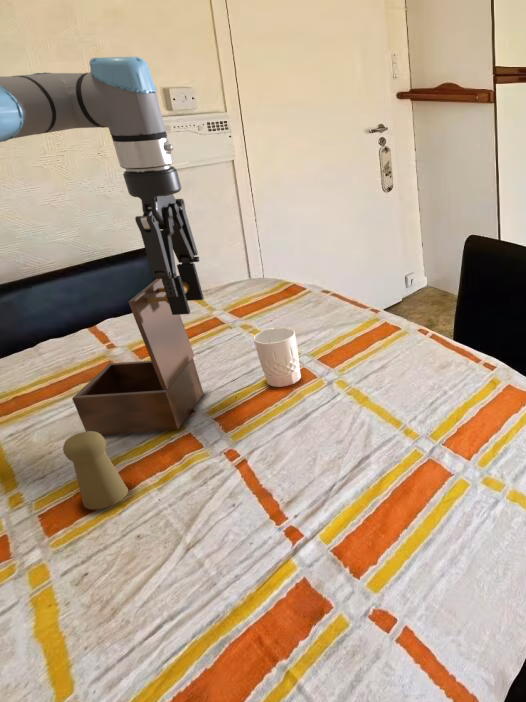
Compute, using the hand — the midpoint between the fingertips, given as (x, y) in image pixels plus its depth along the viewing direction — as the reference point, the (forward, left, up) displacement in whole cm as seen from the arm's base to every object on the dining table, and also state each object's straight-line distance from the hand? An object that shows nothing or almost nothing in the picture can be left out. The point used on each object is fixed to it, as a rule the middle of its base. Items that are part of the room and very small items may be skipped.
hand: (188, 306), depth 108 cm
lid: (-6, -1, -4) cm, 7 cm away
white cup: (+8, +12, -21) cm, 26 cm away
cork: (-3, -27, -21) cm, 34 cm away
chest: (-12, -3, -21) cm, 24 cm away
